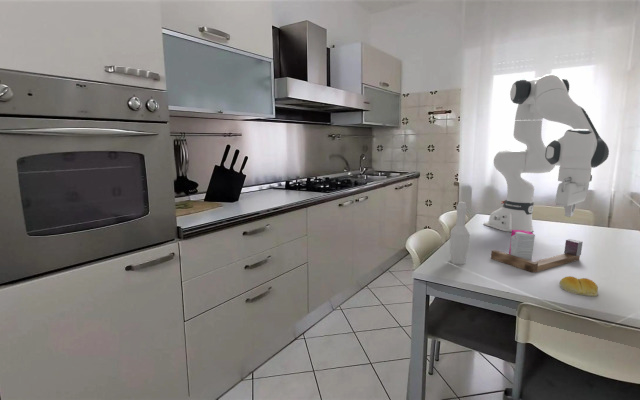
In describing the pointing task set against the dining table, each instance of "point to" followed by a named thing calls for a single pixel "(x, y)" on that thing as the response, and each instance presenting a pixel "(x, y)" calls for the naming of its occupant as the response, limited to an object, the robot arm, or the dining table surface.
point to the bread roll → (579, 286)
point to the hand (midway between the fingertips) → (568, 216)
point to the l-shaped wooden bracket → (570, 255)
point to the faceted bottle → (459, 236)
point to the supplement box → (522, 244)
